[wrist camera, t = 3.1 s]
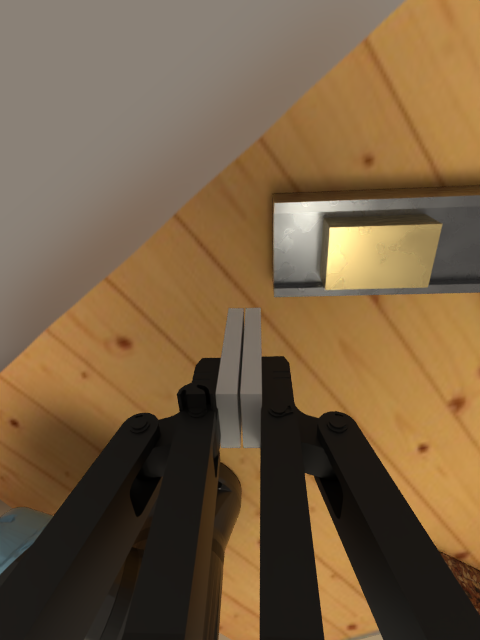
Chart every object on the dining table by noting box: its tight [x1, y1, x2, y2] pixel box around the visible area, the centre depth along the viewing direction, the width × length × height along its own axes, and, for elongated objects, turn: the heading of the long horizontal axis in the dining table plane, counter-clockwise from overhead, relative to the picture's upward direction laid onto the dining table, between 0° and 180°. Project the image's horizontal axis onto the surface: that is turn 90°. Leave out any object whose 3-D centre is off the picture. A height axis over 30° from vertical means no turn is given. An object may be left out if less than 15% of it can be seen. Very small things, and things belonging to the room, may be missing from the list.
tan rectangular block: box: [320, 214, 442, 290], centre depth 29 cm, size 8×5×3 cm, turn 93°
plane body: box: [272, 185, 480, 297], centre depth 31 cm, size 18×8×4 cm, turn 93°
